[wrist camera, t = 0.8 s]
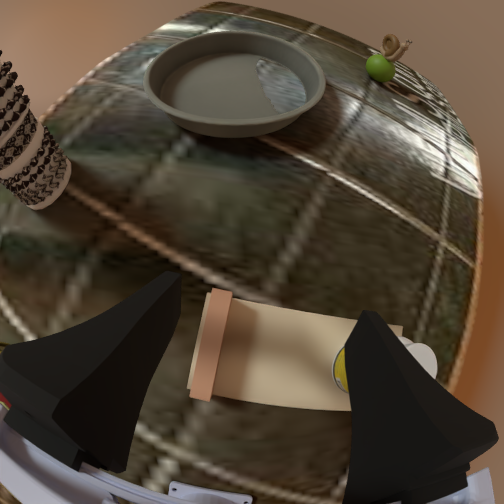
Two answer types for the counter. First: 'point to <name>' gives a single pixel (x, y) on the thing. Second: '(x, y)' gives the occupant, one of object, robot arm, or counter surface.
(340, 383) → the supplement bottle
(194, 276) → the counter surface
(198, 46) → the cake pan
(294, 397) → the strip
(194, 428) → the counter surface
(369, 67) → the snail figurine
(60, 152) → the decorative candle
